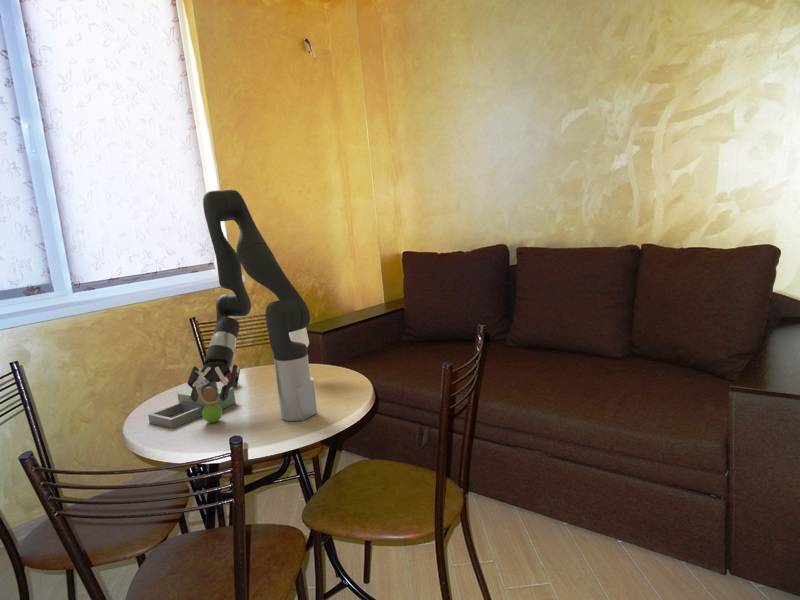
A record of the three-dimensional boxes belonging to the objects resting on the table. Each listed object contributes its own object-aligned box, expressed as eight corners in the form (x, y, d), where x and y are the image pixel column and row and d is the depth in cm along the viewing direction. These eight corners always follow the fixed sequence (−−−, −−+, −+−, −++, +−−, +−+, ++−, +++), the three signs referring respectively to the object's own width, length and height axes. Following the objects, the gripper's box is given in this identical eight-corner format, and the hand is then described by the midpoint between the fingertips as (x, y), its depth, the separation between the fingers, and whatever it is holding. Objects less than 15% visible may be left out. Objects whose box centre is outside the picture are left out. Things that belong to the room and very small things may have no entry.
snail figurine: (205, 418, 149) (199, 379, 147) (226, 417, 148) (221, 378, 147) (196, 426, 144) (190, 385, 142) (218, 425, 143) (212, 384, 141)
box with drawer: (235, 403, 161) (232, 378, 159) (175, 429, 143) (171, 401, 142) (206, 398, 168) (203, 374, 167) (146, 422, 151) (142, 395, 150)
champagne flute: (298, 377, 183) (290, 310, 179) (316, 376, 182) (308, 310, 178) (290, 383, 176) (282, 314, 173) (309, 382, 175) (300, 313, 171)
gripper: (193, 345, 152) (178, 395, 143) (238, 342, 150) (226, 393, 141) (204, 357, 158) (190, 406, 149) (248, 355, 156) (237, 405, 147)
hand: (208, 400), depth 145 cm, fingers open, 8 cm apart
